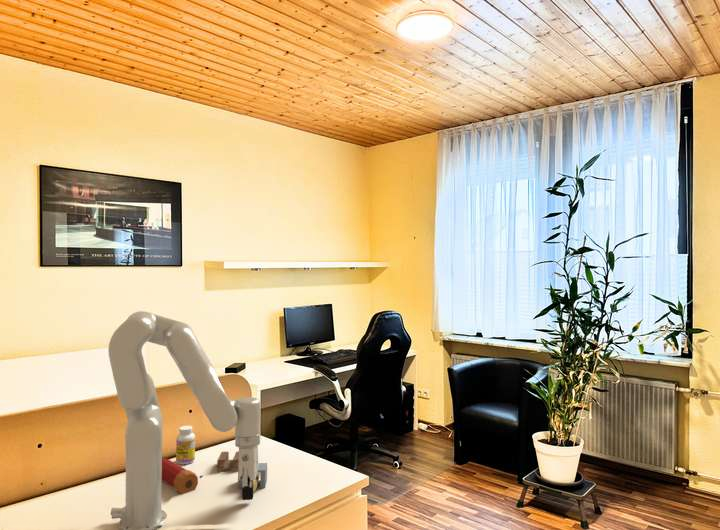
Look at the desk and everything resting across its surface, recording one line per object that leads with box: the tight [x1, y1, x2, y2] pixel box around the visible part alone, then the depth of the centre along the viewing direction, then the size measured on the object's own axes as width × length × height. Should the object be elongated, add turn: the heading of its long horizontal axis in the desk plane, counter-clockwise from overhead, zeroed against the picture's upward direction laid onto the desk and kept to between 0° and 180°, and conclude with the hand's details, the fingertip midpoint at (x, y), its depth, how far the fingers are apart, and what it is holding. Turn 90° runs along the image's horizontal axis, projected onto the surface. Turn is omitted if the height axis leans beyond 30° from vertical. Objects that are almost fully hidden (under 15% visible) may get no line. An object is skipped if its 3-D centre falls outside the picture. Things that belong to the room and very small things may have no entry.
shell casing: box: [162, 457, 199, 495], centre depth 170 cm, size 7×20×7 cm, turn 45°
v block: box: [216, 450, 239, 473], centre depth 184 cm, size 8×8×5 cm
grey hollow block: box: [237, 462, 268, 489], centre depth 169 cm, size 6×9×7 cm
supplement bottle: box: [175, 425, 196, 465], centre depth 190 cm, size 7×7×13 cm
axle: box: [252, 472, 260, 495], centre depth 168 cm, size 14×4×4 cm, turn 4°
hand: (247, 498), depth 156 cm, fingers closed
